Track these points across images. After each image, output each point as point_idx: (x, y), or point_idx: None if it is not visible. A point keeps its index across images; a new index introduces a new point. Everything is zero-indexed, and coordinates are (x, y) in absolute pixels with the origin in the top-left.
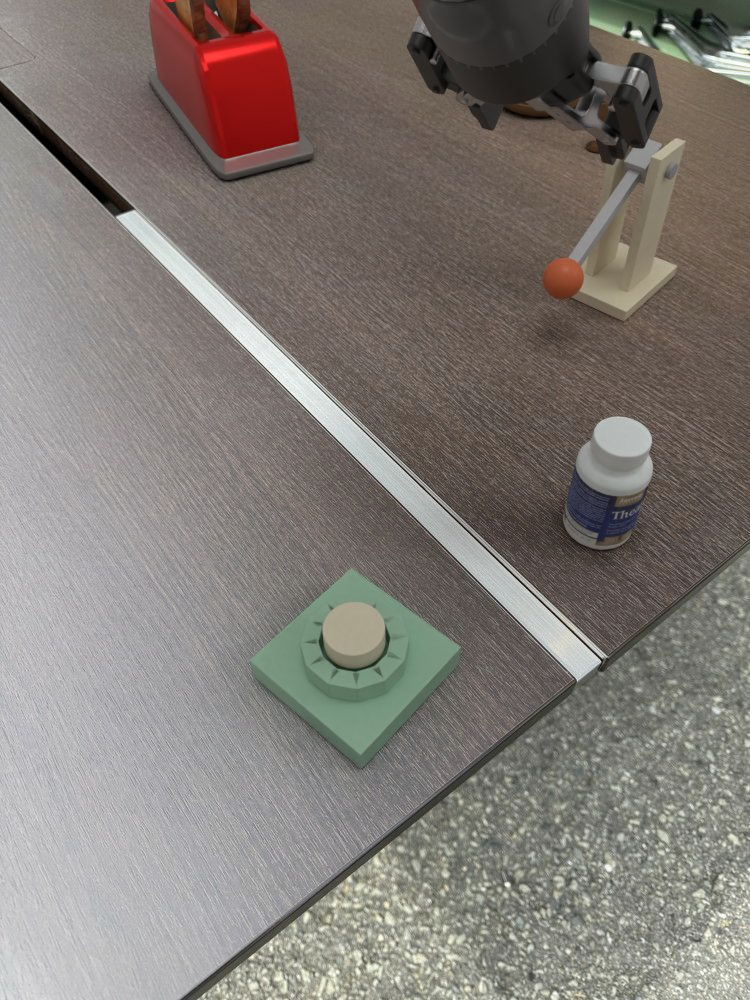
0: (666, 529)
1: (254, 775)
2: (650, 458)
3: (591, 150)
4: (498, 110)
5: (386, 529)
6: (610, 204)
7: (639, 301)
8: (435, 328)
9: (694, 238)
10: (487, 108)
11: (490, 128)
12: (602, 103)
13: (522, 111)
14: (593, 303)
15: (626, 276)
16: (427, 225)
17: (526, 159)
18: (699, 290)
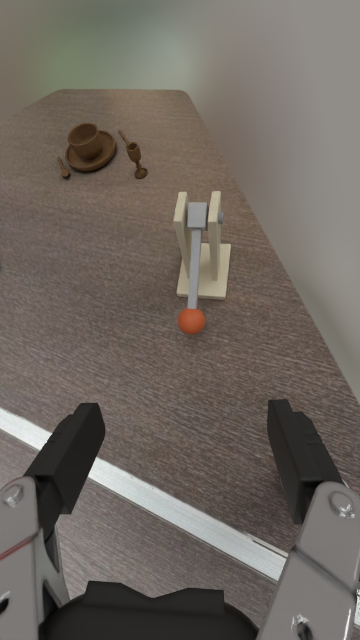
0: (338, 458)
1: None
2: (345, 484)
3: (139, 177)
4: (96, 422)
5: (193, 562)
6: (194, 260)
7: (226, 283)
8: (132, 366)
9: (224, 213)
10: (82, 470)
11: (101, 443)
12: (131, 150)
13: (90, 169)
14: (203, 297)
15: (214, 275)
16: (86, 284)
17: (110, 202)
18: (248, 252)
